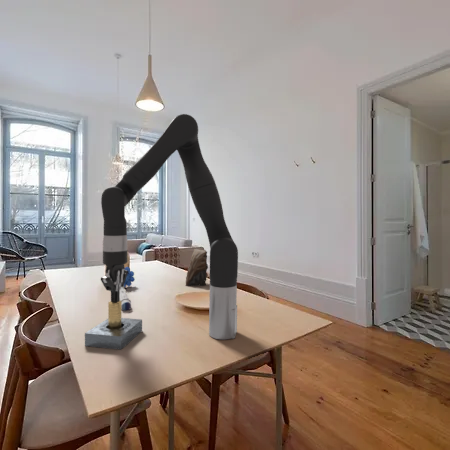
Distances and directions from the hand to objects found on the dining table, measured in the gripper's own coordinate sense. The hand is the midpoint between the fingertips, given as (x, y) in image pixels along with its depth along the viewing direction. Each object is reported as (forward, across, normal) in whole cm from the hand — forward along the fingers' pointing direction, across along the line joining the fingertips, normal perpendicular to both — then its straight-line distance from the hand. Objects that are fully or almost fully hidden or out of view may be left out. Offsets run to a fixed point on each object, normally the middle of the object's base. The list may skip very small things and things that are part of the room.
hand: (115, 301), depth 93 cm
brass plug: (+12, 0, 0) cm, 12 cm away
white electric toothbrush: (+12, +35, +17) cm, 41 cm away
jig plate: (+12, 0, 0) cm, 12 cm away
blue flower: (+12, +58, +29) cm, 66 cm away
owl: (+12, +75, -6) cm, 76 cm away
